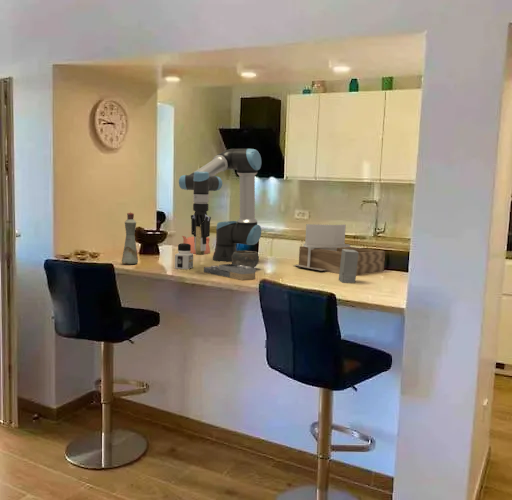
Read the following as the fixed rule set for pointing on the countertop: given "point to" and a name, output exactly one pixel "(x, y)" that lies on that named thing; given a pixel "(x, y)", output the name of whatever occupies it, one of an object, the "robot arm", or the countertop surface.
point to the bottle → (130, 241)
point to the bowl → (245, 258)
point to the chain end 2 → (239, 271)
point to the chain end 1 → (216, 271)
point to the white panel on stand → (324, 239)
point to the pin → (198, 241)
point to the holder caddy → (332, 259)
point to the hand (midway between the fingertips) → (200, 249)
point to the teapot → (191, 241)
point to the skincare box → (348, 266)
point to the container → (184, 257)
